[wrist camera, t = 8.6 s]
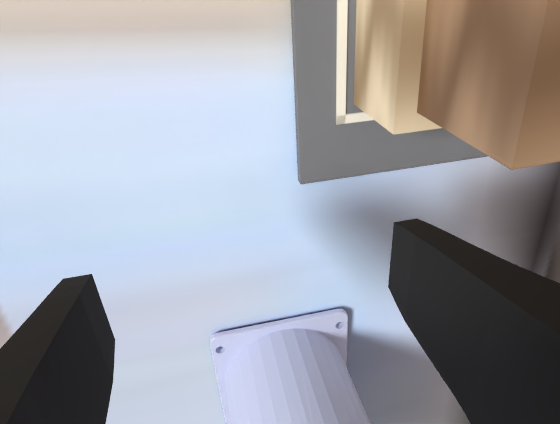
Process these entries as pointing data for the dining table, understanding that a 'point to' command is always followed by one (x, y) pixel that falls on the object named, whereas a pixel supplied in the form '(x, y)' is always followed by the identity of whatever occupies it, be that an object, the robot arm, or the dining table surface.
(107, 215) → the dining table surface
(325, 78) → the mat
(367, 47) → the oak block
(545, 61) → the walnut block
